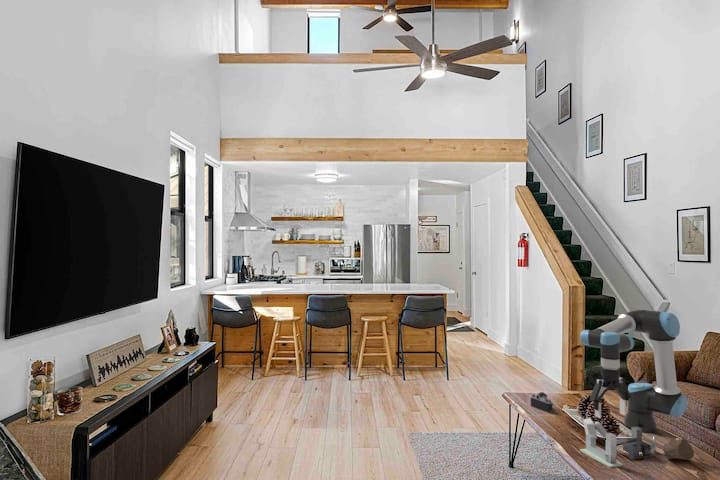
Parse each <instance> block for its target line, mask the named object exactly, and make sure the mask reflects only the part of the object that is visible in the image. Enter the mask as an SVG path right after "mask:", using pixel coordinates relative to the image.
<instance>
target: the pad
mask: <svg viewBox="0 0 720 480" xmlns="http://www.w3.org/2000/svg"><path fill="white" fill-rule="evenodd" d="M579 452H582V453H583V454H584V455H587V456H588V457H590V458H591V459H594V460H595V461H597V462H599V463H600V464H603V465H604V466H606V467H608V468H609V469H612V468H618V467H623V466H624V463H621V462H620V461H618V460H617V463H614V464H610V463H608V462H607V461H605V460H603V459H601V458H599V457H598V456H596V455H594V454H592V453H590V452H589V451H587V450H586V447H585V448H581V449H579Z"/></svg>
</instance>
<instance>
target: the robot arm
mask: <svg viewBox="0 0 720 480" xmlns="http://www.w3.org/2000/svg"><path fill="white" fill-rule="evenodd" d="M680 326H681V325H680V321H679V319H678V317H677V316H676V315H675V314H674V313H672V312H666V311H658V310H648V309H647V310H646V309H636V310H631V311H628V312H624V313H622V314H620V315H618V317H617V318H616V319H614V320H612V321H611V322H608V323H606V324H604V325H602V326H600V327H597V328H595V329H593V330H590V329H583V330H582V331H581V332H580V335H579V339H580V343H581V344H582V345H584V346H587V347H592V348H598V349H600V375H601V379H598V378H596V379H595V384H594V386H593V389H592V392H591V395H590V397H589V400H590V402H593V409H594V417H595V418H598V419H602V403H601V401H602V399H603V397H604V396H605V394H606V393H607V392H608V391H609V390H615V392H616V393H617V394H618V395H619V397H620V398H619V414H621V415H623V416H625V418H624V419H623V420H624V421H623V422H624V423H623V425H624V424H625V425H626V426H628V427H629V428H631V427H638V428H641V429H642V433H656V432H657V431H658V424H657V423H656V420H655V416H654V413H655V412H656V413H659V414H662V415H665V416H669V417H675V418H681V417H682V416H683V415H684V414H685V413H686V410H687V406H688V398H687V396H686V394H684V393H683V394H682V389H681V387H679V386H678V383H677V373H676V365H675V364H676V362H675V353H674V345H673V342H674V341H675V340H676V339H677V337H678V336H679V335H680V332H681V331H680V329H681V327H680ZM632 332H637V333H643V334H648V339H649V340H650V341H652V348H653V349H652V350H653V357H654V368H655V376H656V377H655V378H656V385H655V386H654V385H653V384H651V383H649V382H632V383H630V384H628V386H627V384H626V378H625V377H621V370H620V368H621V362H620V361H621V360H620V359H621V355H620V353H623V352H628V351H630V350H632V349H633V348H634V346H635V340H634V338H633V337H632V336H631V335H629V334H630V333H632ZM625 333H626V334H625ZM627 333H628V334H627ZM625 425H624V426H625ZM626 426H625V427H626ZM629 428H628V429H629Z"/></svg>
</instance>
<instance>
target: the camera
mask: <svg viewBox="0 0 720 480" xmlns="http://www.w3.org/2000/svg"><path fill="white" fill-rule="evenodd" d="M530 406H531V407H532V408H534V409H537V410H540V411H542V412H545V413H547V414H552V413H553V406H554V403H553V401H552V399H550V398H548V394H546V393H545V392H543V391H541V392H539V393H537V394H536V393H531V395H530Z"/></svg>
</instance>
